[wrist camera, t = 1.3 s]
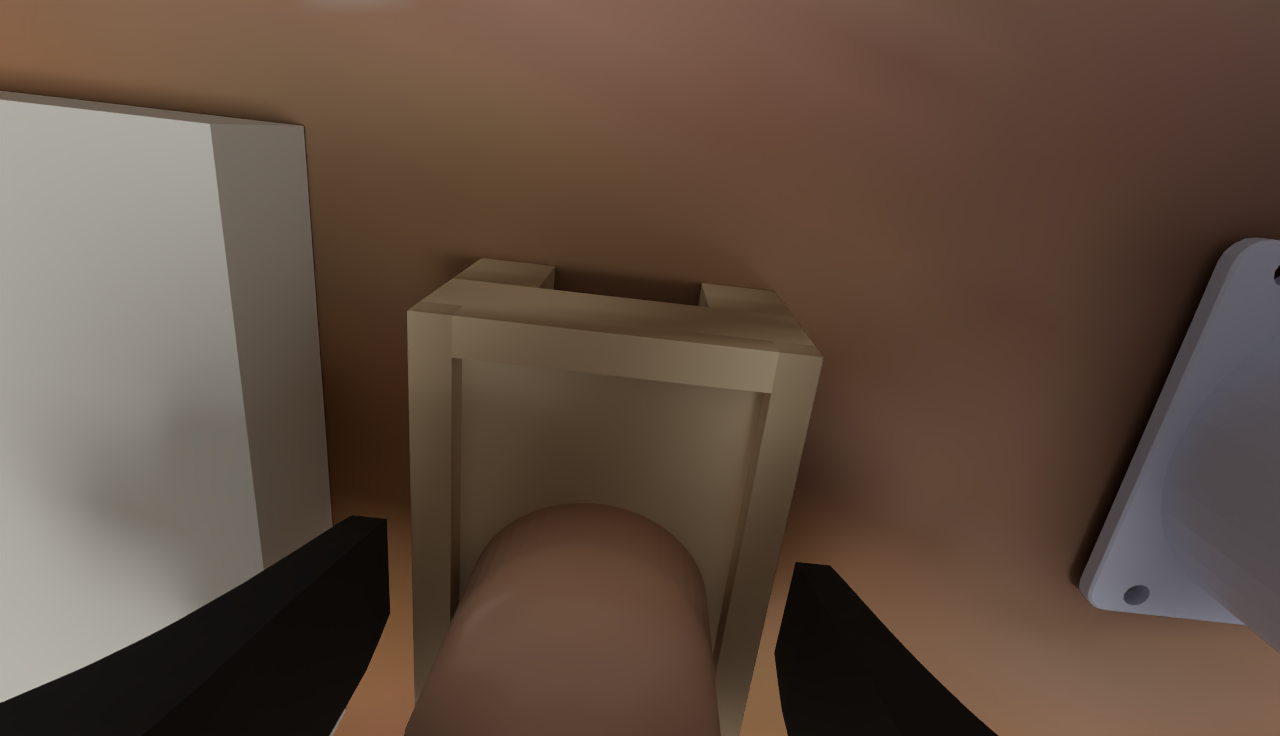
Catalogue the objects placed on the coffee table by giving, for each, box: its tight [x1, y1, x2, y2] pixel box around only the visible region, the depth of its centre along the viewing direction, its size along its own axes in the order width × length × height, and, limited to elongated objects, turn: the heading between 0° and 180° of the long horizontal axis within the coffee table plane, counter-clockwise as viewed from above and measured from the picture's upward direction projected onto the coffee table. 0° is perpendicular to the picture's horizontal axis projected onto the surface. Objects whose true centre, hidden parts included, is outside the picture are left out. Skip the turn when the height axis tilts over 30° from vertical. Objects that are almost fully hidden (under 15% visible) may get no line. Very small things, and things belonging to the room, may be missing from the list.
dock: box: [0, 91, 346, 736], centre depth 12 cm, size 9×14×3 cm, turn 174°
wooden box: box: [407, 258, 824, 736], centre depth 12 cm, size 6×10×4 cm, turn 174°
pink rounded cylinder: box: [404, 503, 721, 736], centre depth 9 cm, size 4×4×3 cm
